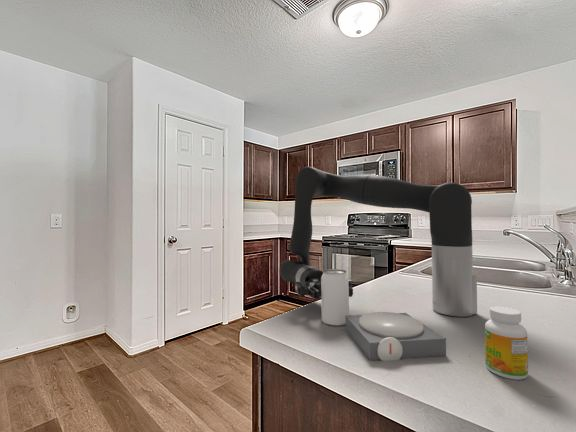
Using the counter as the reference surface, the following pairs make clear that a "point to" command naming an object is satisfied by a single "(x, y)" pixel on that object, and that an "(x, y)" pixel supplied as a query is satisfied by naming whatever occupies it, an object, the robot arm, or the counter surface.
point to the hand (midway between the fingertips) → (335, 294)
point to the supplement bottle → (506, 344)
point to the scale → (394, 336)
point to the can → (334, 297)
